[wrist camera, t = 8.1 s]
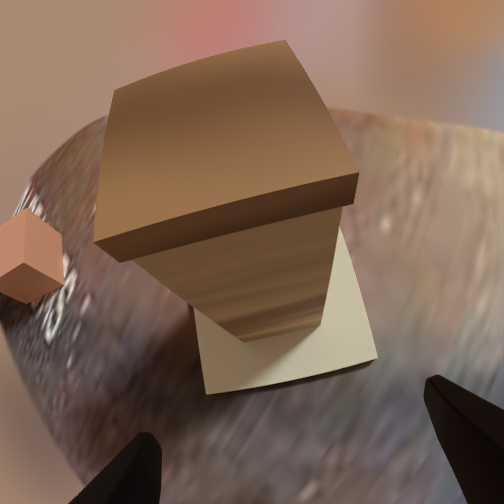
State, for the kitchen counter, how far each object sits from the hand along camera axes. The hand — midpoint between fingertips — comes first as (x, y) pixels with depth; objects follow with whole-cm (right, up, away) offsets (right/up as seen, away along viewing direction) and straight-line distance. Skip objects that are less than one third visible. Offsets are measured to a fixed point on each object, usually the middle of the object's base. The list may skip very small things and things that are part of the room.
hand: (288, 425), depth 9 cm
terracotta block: (-19, +4, +15) cm, 25 cm away
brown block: (0, +3, +10) cm, 11 cm away
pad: (0, +2, +11) cm, 11 cm away
